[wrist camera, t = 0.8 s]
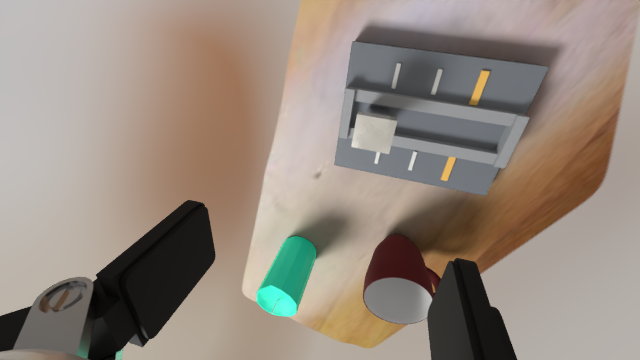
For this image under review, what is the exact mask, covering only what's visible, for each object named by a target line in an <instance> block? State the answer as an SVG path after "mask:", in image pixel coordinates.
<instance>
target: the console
mask: <svg viewBox="0 0 640 360" xmlns="http://www.w3.org/2000/svg"><path fill="white" fill-rule="evenodd" d="M548 68H549V67H547V66H542V65H538V64H530V63H522V62H514V61H507V60H499V59H491V58H483V57H476V56H468V55H460V54H452V53H445V52H437V51H429V50H421V49H414V48H406V47H398V46H390V45H383V44H375V43H367V42H359V41H353V42H352V46H351V53H350V60H349V67H348V74H347V81H346V88H345V95H344V101H343V108H342V115H341V122H340V129H339V136H338V143H337V150H336V157H335V163H334V165H336V166H341V167H346V168H351V169H356V170H361V171H366V172H371V173H376V174H380V175H385V176H390V177H395V178H400V179H405V180H410V181H415V182H420V183H424V184H429V185H434V186H439V187H444V188H449V189H454V190H459V191H464V192H468V193H473V194H478V195H483V196H486V194H487V192H488V190H489V188H490V186H491V184H492V182H493V180H494V178H495V176H496V174H497V172H498V170H499V168H505V166H506V164H507V162H508V161H509V159H510V157H511V155H512V153H513V151H514V149H515V147H516V145H517V143H518V141H519V139H520V137H521V135H522V133H523V131H524V129H525V127H526V125H527V123H528V121H529V119H530V117H528V116H527V115H526V113H527V111H528V109H529V106H530V104H531V102H532V100H533V98H534V96H535V94H536V92H537V90H538V88H539V86H540V84H541V82H542V80H543V78H544V76H545V74H546V72H547V70H548ZM368 106H370V107H376V108H382V109H388V110H390V116H392V117H397V125H396V129H395V133H394V137H393V141H392V144H391V148H390V152H389V154H385V153H380V152H375V151H370V150H365V149H359V148H354V147H351V145H352V140H353V134H354V128H355V122H356V117H357V113H358V111H363V112H366V111H367V108H368Z"/></svg>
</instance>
